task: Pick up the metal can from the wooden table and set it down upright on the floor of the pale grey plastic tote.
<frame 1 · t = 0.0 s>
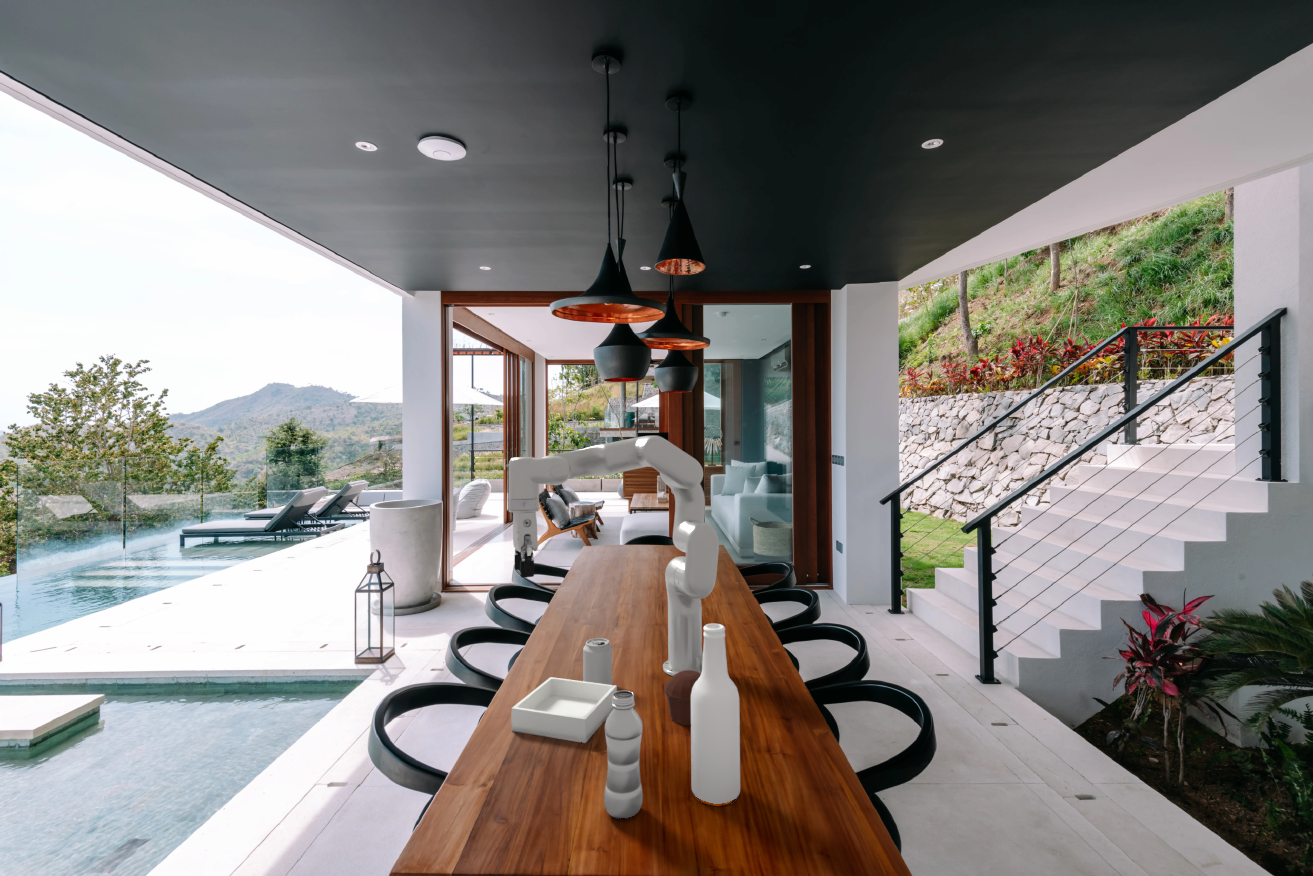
hand: (523, 573, 143), 31 cm above the table, tool pointing down, fingers open, 9 cm apart
alcohol: (715, 794, 102), on the table
plastic bottle: (623, 813, 97), on the table
muffin: (688, 717, 131), on the table
can: (597, 688, 148), on the table
tote: (566, 718, 131), on the table
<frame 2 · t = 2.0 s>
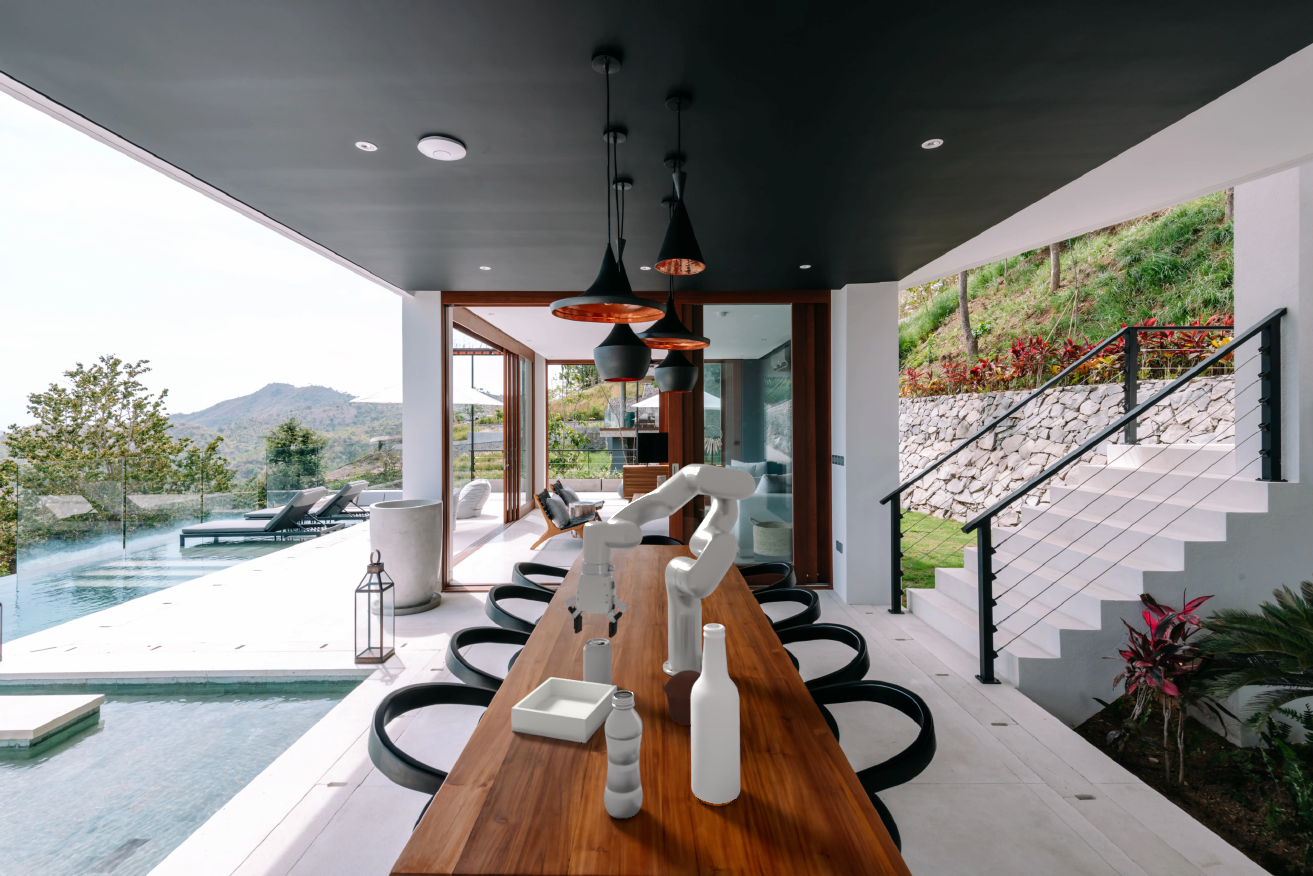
hand: (595, 634, 148), 14 cm above the table, tool pointing down, fingers open, 9 cm apart
nothing on the table moved.
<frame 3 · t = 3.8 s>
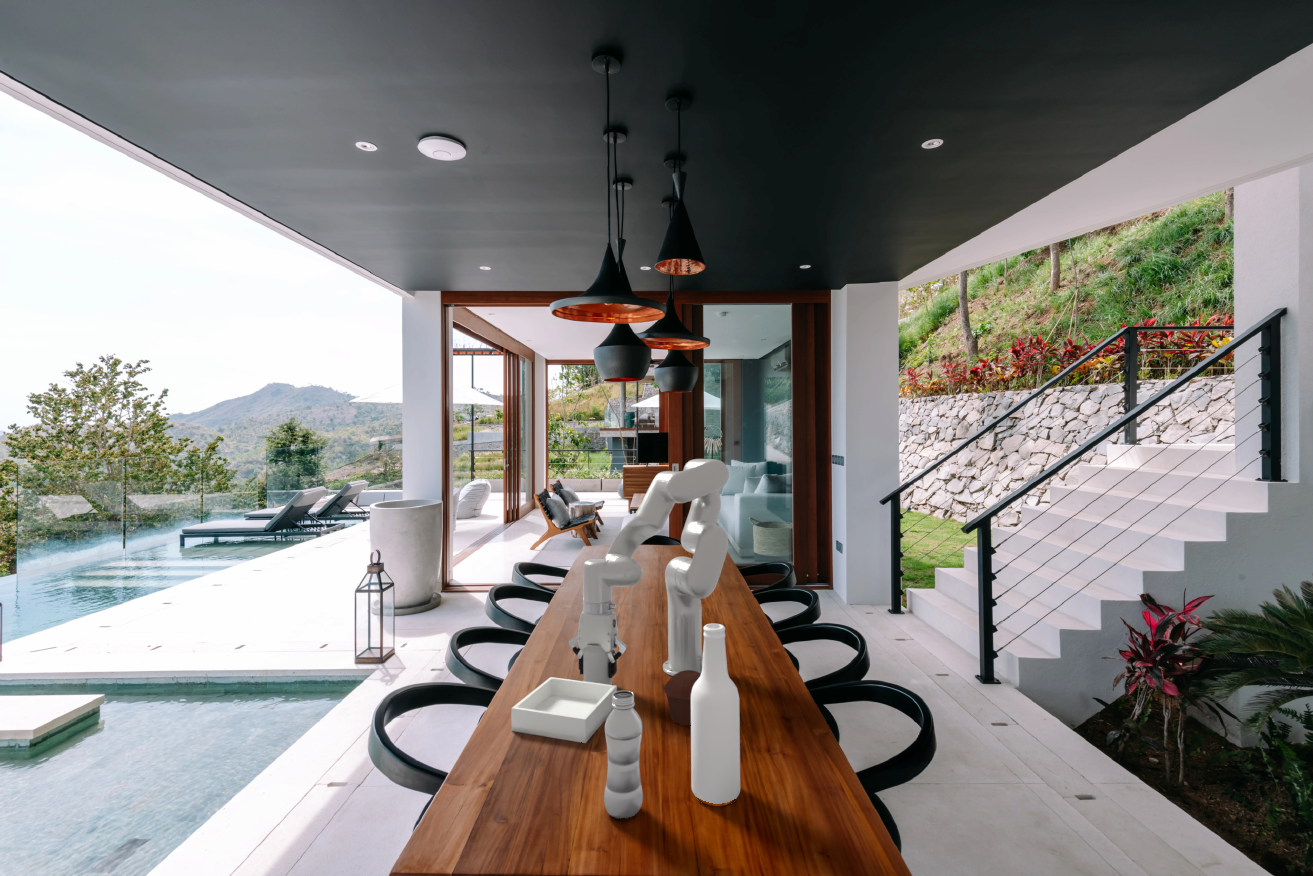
hand: (597, 674, 148), 3 cm above the table, tool pointing down, fingers closed on can, 7 cm apart
can: (597, 687, 148), on the table, touching gripper
everything else where it was.
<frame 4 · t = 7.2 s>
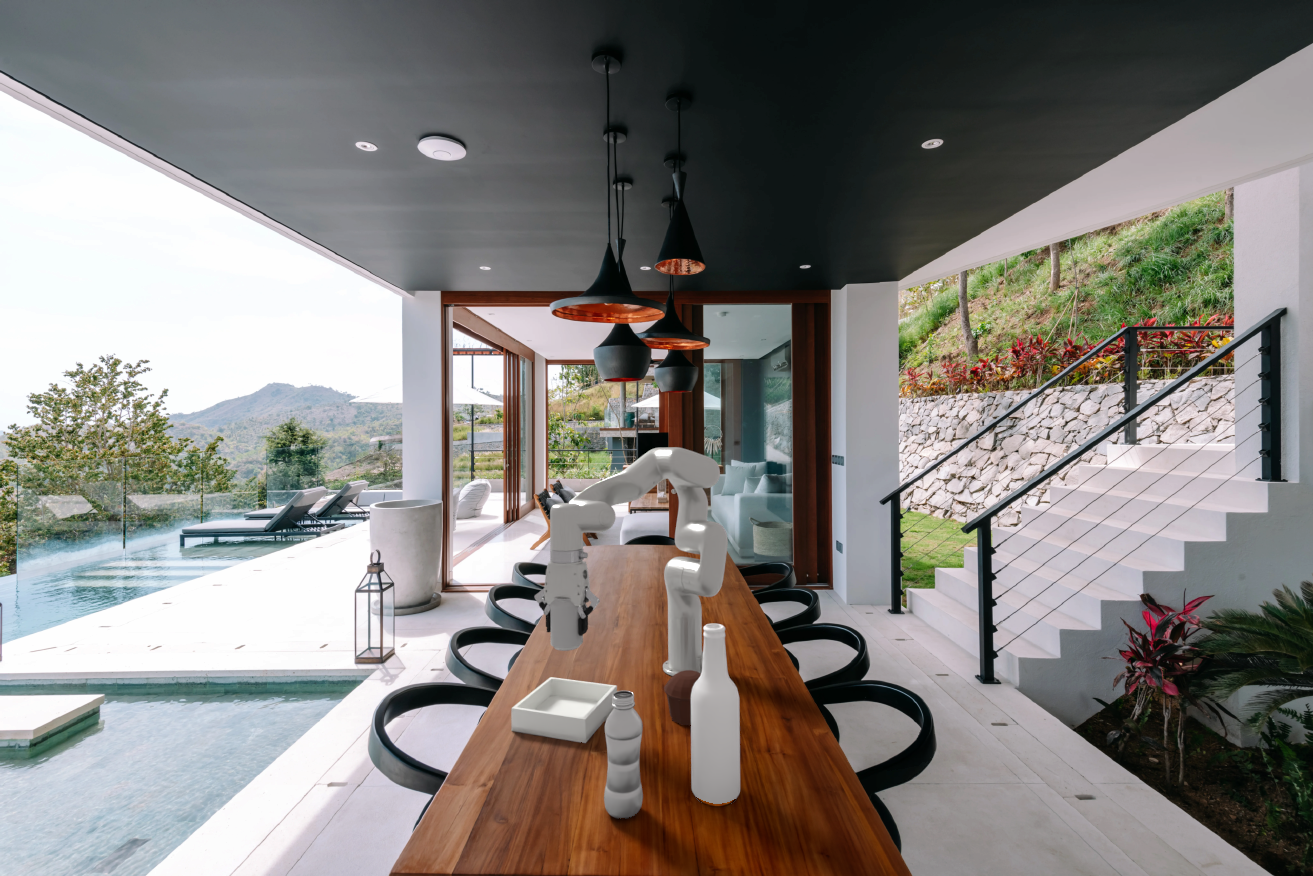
hand: (566, 631, 132), 20 cm above the table, tool pointing down, fingers closed on can, 7 cm apart
can: (566, 647, 132), point 16 cm above the table, touching gripper
everything else where it was.
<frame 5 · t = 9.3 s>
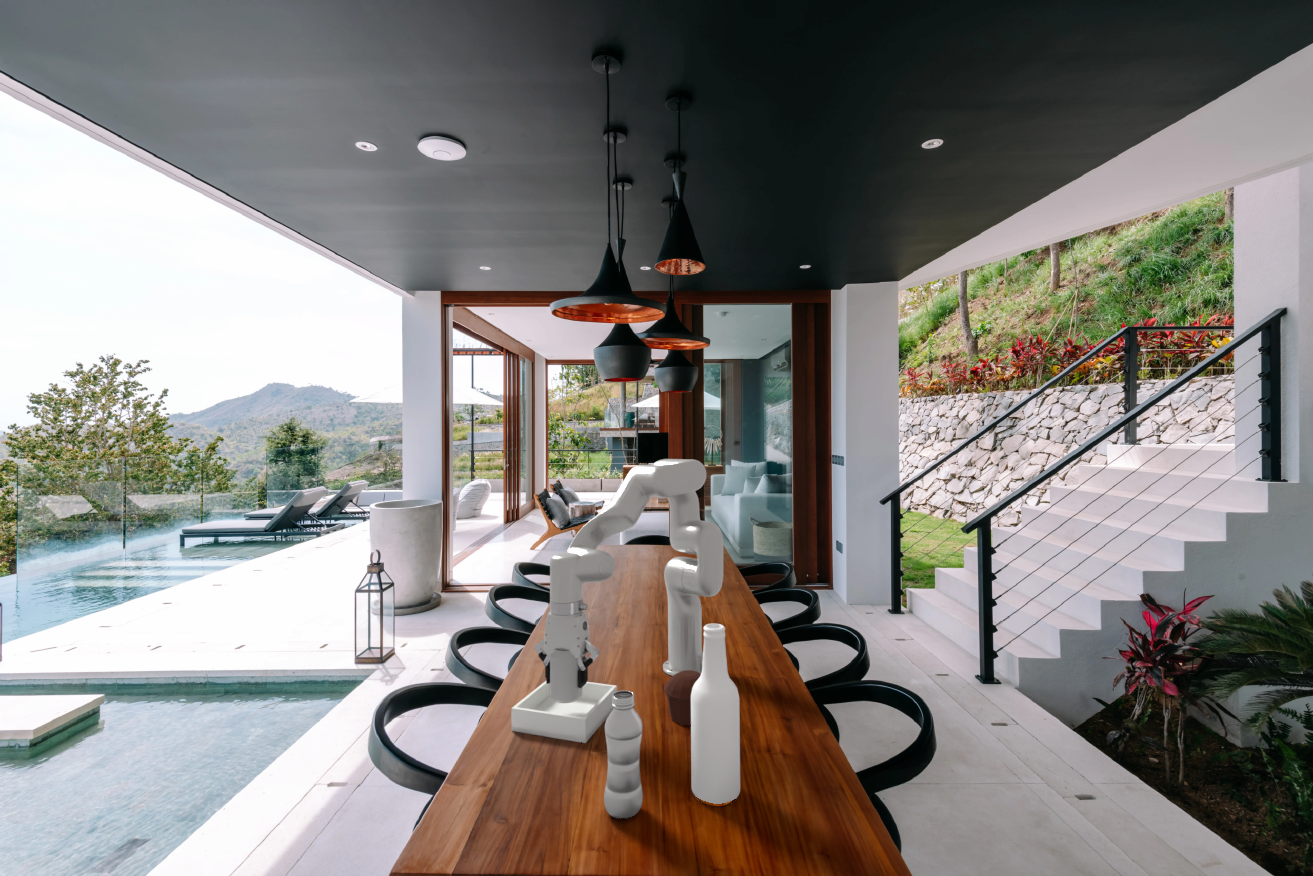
hand: (566, 683, 131), 8 cm above the table, tool pointing down, fingers closed on can, 7 cm apart
can: (566, 698, 131), point 4 cm above the table, touching gripper
everything else where it was.
when the fingers open (7 cm above the table, at t = 10.7 s): can drops 2 cm, resting on tote.
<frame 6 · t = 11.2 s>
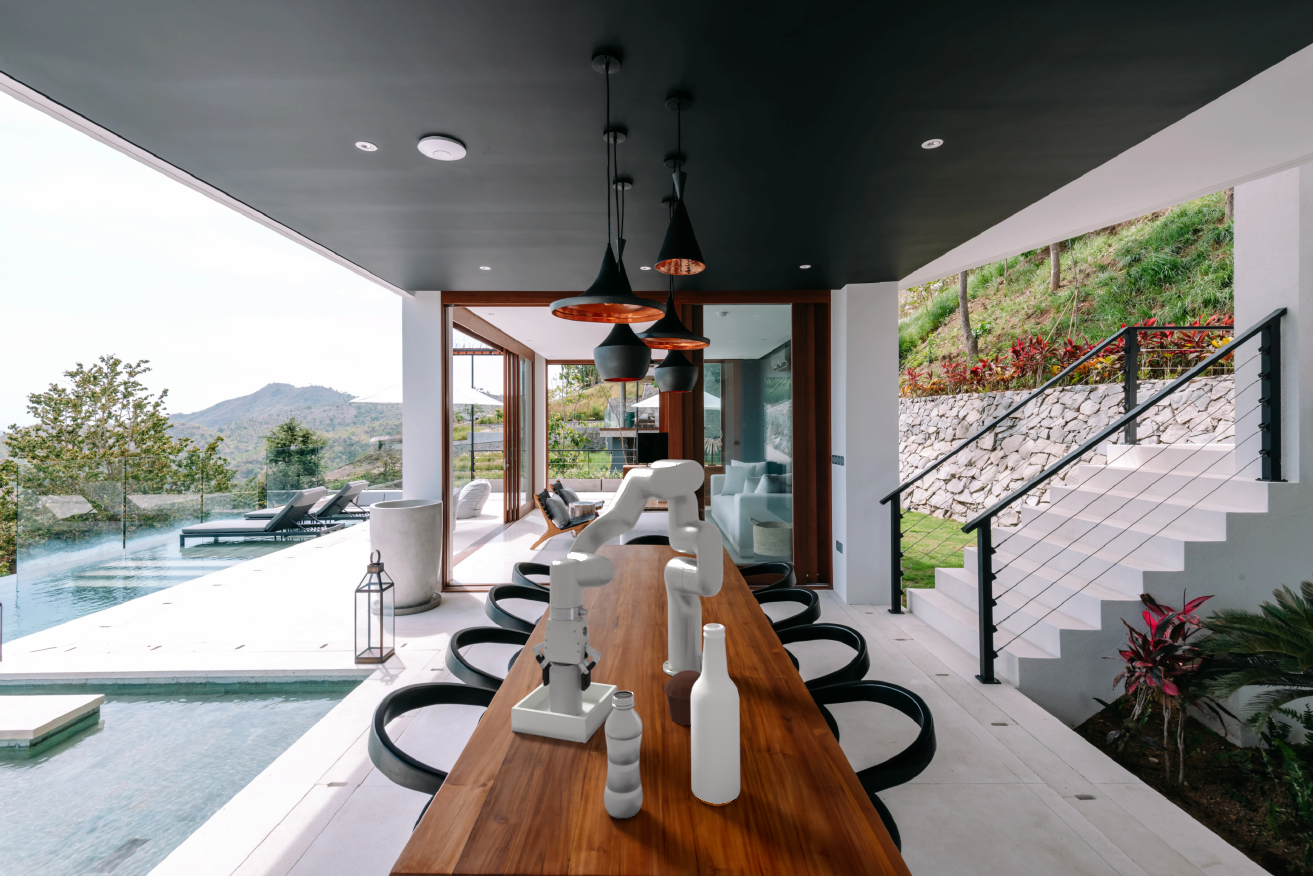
hand: (566, 686, 131), 7 cm above the table, tool pointing down, fingers open, 9 cm apart
can: (566, 713, 131), point 1 cm above the table, touching tote
everything else where it was.
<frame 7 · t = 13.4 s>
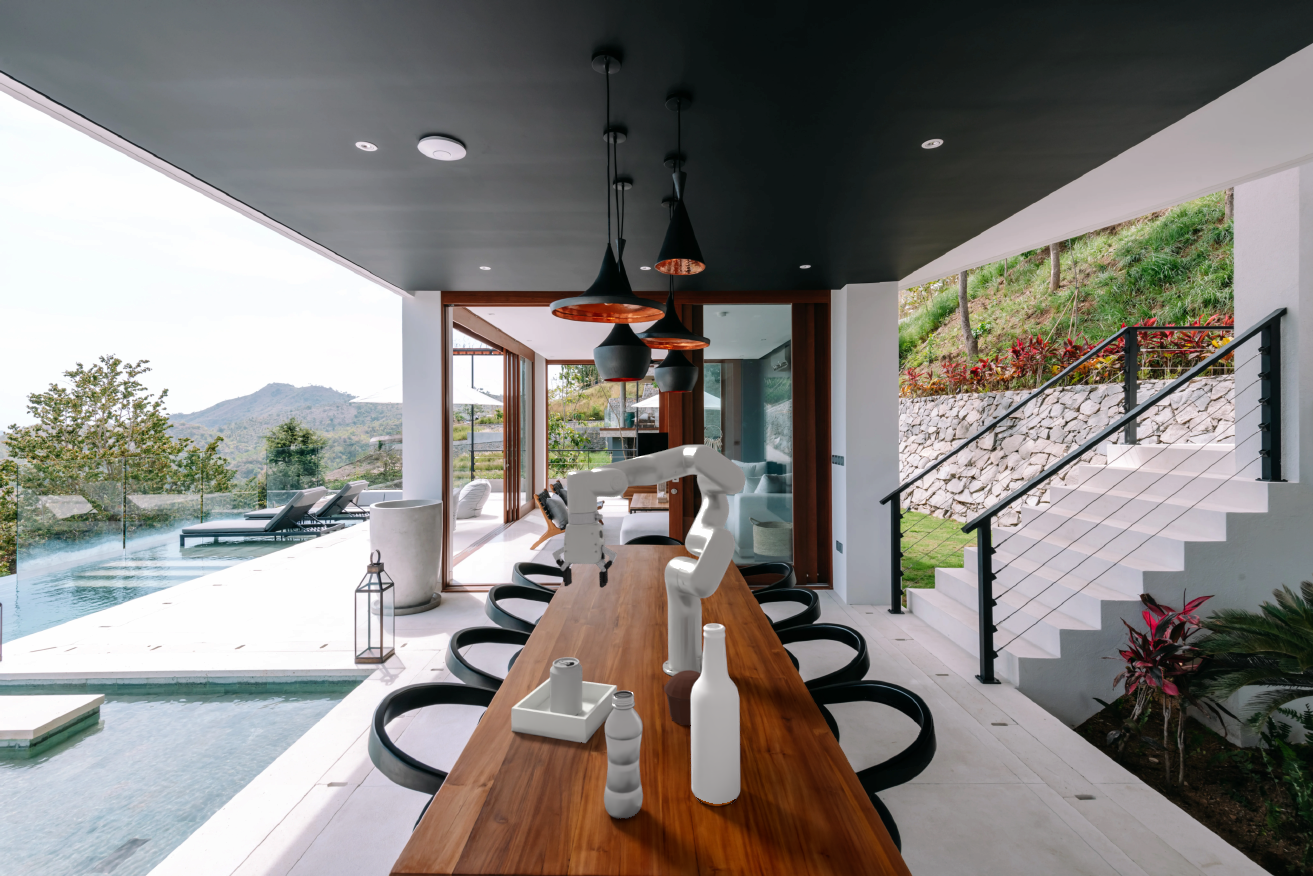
hand: (585, 585, 144), 28 cm above the table, tool pointing down, fingers open, 9 cm apart
nothing on the table moved.
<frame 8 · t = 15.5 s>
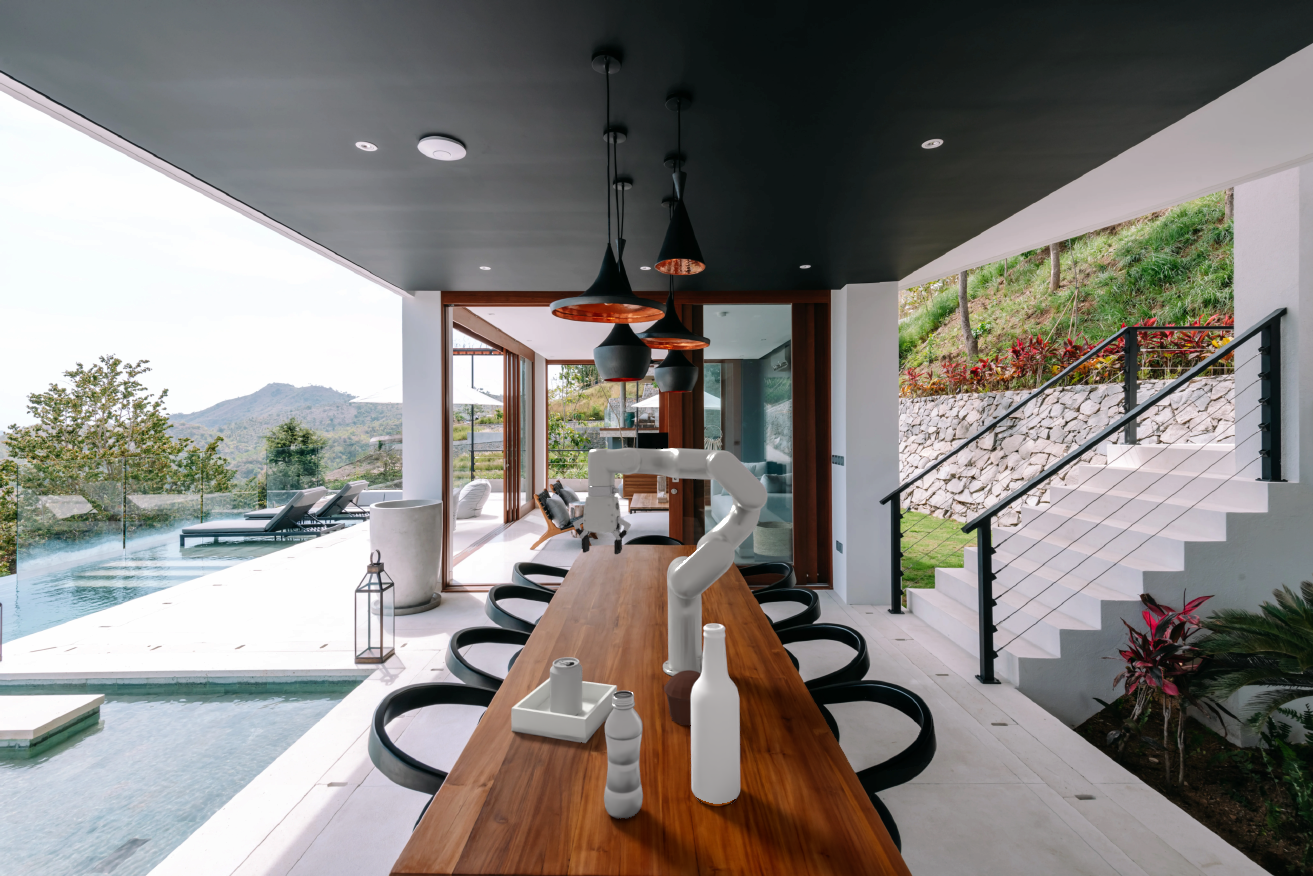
hand: (601, 552, 159), 33 cm above the table, tool pointing down, fingers open, 9 cm apart
nothing on the table moved.
at the end: can inside the target area on the tote (0.4 cm from its centre), point 0.8 cm above the tote's base; can tilted 0°; the gripper is holding nothing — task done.
